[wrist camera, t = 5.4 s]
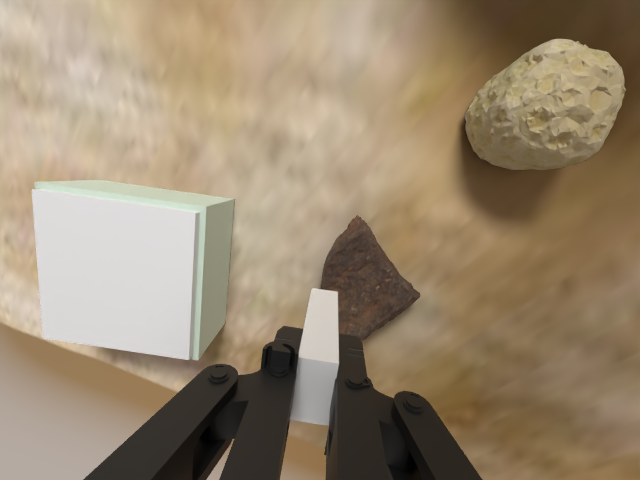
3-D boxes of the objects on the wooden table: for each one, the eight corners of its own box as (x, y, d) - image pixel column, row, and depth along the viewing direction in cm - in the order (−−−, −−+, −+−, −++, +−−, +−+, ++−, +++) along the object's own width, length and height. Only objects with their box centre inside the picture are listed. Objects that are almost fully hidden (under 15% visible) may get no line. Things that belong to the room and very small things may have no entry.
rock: (356, 212, 30) (360, 218, 27) (419, 286, 32) (430, 301, 28) (276, 279, 32) (269, 293, 29) (339, 345, 34) (339, 366, 30)
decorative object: (507, 174, 32) (641, 157, 24) (451, 182, 27) (598, 164, 19) (503, 82, 31) (644, 30, 23) (443, 71, 26) (599, -1, 17)
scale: (100, 179, 31) (24, 182, 23) (234, 198, 31) (202, 207, 23) (103, 312, 34) (38, 351, 27) (224, 330, 34) (193, 375, 27)
